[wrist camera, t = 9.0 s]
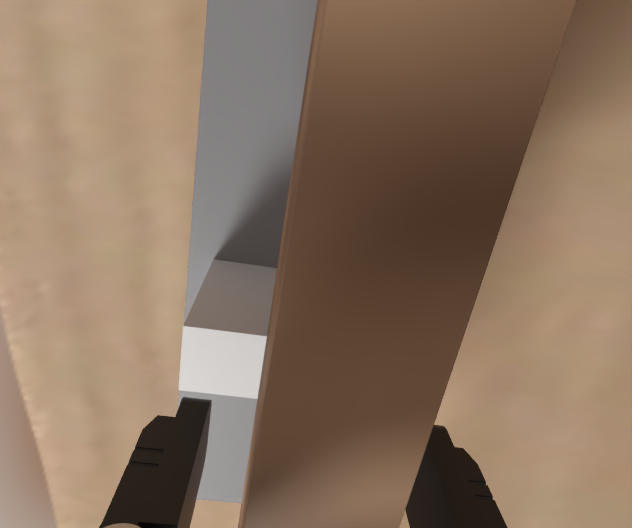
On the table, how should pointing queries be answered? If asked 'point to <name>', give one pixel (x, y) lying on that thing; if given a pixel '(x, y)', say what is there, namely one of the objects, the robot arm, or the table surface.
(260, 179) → the fulcrum stand
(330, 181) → the walnut bar
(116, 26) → the table surface
